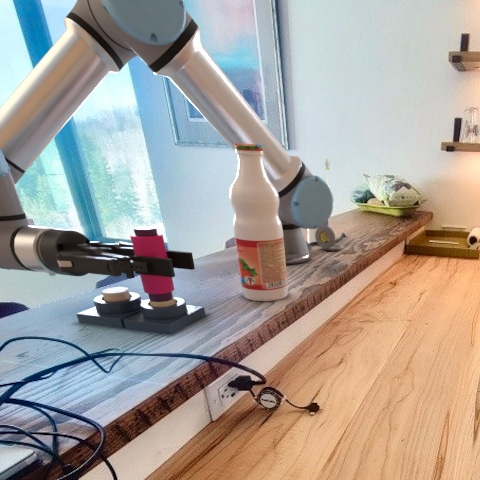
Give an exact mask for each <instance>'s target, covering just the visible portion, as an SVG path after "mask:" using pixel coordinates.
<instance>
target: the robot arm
mask: <svg viewBox="0 0 480 480" xmlns="http://www.w3.org/2000/svg"><path fill="white" fill-rule="evenodd" d="M63 22H64V27H65V30H64V32H63V33H62V34H61V36H60V37H59V38H58V39H57V40H56V41H55V43H53V45H52V46H51V47H50V48H49V50H48V51H46V53H45V54H44V55H43V57H41V59H40V60H39V62H38V63H36V65H35V66H34V67H33V68H32V70H30V72H29V73H28V74H27V76H25V78H23V80H22V81H21V83H20V84H19V85H18V86H17V88H15V90H14V91H13V92H12V94H10V96H9V97H8V98H7V99H6V100H5V102H4V103H2V105H1V106H0V269H2V270H8V271H9V270H10V271H11V270H14V271H25V272H35V273H47V274H48V275H49V276H50V277H55V276H56V275H61V276H69V277H70V276H71V277H84V276H86V275H89V274H91V275H101V276H110V277H111V276H112V277H120V276H122V275H123V274H125V277H126V279H131V280H132V279H134V278H136V277H135V274H137V275H140V274H145V275H155V276H164V277H172V278H174V277H176V274H175V269H180V270H181V269H182V270H191V271H193V270H196V267H195V262H194V257H193V252H191V251H190V252H189V251H181V250H171V249H170V250H169V249H166V253H167V257H168V259H167V258H157V257H147V256H137V255H135V253H134V249H133V245H132V242H126V241H121V240H117V241H114V243H109V242H108V243H107V242H103V241H98V240H90V239H89V238H88V237H87V236H86V235H85V234H83V233H82V232H80V231H77V230H74V229H65V228H64V229H63V228H54V227H47V226H35V225H30V224H29V221H28V218H27V214H26V213H25V210H24V208H23V207H24V206H23V204H22V201H21V199H20V196H19V193H18V189H17V187H16V184H18V183H19V181H20V180H21V179H22V177H23V176H24V175H25V174H26V172H27V170H29V168H30V167H31V166H32V164H33V163H34V162H35V161H36V160H37V159H38V157H40V155H41V154H42V153H43V152H44V150H45V149H46V148H47V147H48V146H49V145H50V143H51V142H52V141H53V140H54V139H55V138H56V136H57V135H58V134H59V133H60V132H61V130H62V129H63V128H64V127H65V126H66V124H67V123H68V122H69V121H70V119H71V118H72V117H73V116H74V115H75V113H77V111H78V110H79V109H80V108H81V106H82V105H83V104H84V103H85V102H86V100H87V99H88V98H89V97H90V96H91V95H92V94H93V92H94V91H95V90H96V89H97V87H98V86H99V85H100V84H101V83H102V81H104V79H105V78H106V77H107V76H108V74H109V73H112V74H119V73H120V71H121V70H122V69H123V68H124V67H125V66H126V65H127V64H128V63H129V62H130V61H132V60H133V59H134V58H136V57H138V58H139V59H140V60H141V61H142V62H143V63H144V64H145V65H146V67H148V69H149V70H150V71H151V72H152V73H153V74H154V75H155V76H160V77H165V78H167V79H170V81H171V82H172V83H173V84H174V85H175V87H177V89H178V90H179V91H180V92H181V93H182V94H183V95H184V96H185V98H186V99H187V100H188V101H189V102H190V104H192V105H193V106H194V108H195V109H196V110H197V111H198V112H199V113H200V114H201V115H202V117H203V118H204V119H205V120H206V122H207V123H209V124H210V126H211V127H212V128H213V129H214V130H215V132H217V133H218V135H219V136H220V137H221V138H222V139H223V140H224V141H225V142H226V144H227V145H228V146H229V147H230V148H231V149H232V150H233V151H234V153H236V150H235V143H242V144H259V145H262V146H263V155H262V160H263V165H264V168H265V171H266V174H267V176H268V178H269V180H270V181H271V183H272V184H273V185H274V186H275V188H276V189H277V191H278V194H279V209H278V216H279V218H280V220H281V223H282V228H283V238H284V250H285V261H286V265H297V264H302V263H306V262H308V261H309V260H310V258H311V256H310V254H311V253H310V250H309V249H310V247H311V246H320V245H319V244H318V243H317V242H311V243H308V242H306V238H305V236H304V234H303V231H302V229H304V230H305V229H306V230H307V229H316V228H319V227H321V226H322V225H324V224H325V223H326V222H327V221H328V219H329V220H330V218H331V215H332V214H333V209H334V194H333V191H332V188H331V186H330V184H329V182H328V183H327V182H326V181H325V180H326V179H323V178H322V177H320V176H319V175H314V174H313V173H312V172H311V171H310V169H309V168H308V167H307V165H306V164H305V163H304V161H303V160H302V158H300V156H297V155H289V153H288V152H287V151H286V149H285V147H283V146H282V144H281V143H280V142H279V141H278V139H277V138H276V136H275V135H274V134H273V133H272V132H271V130H270V129H269V127H268V126H267V125H266V124H265V123H264V122H263V120H262V119H261V118H260V116H259V115H258V114H257V112H255V110H254V108H252V106H251V105H250V104H249V102H248V101H247V100H246V99H245V98H244V96H243V95H242V93H241V92H240V91H239V89H238V88H236V85H234V84H233V82H232V81H231V80H230V78H229V77H228V76H227V74H226V73H225V72H224V71H223V69H222V68H221V67H220V65H218V63H217V62H216V60H215V59H214V58H213V57H212V55H211V54H210V53H209V51H208V50H207V49H206V48H205V46H204V45H203V43H202V42H201V31H200V30H201V29H200V26H199V25H198V24H197V22H195V20H194V19H193V17H192V16H191V15H190V13H189V12H188V11H187V9H186V5H185V1H184V0H76V2H75V4H74V6H73V7H72V9H71V10H70V11H69V13H68V14H67V15H66V16H65V17H64V18H63ZM343 238H347V236H346V233H345V232H342V233H341V235H340V237H338V238H336V239H335V243H338V242H341V241H342V240H343ZM328 242H329V241H325V242H324V243H328ZM335 243H334V244H335Z"/></svg>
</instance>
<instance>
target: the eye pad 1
mask: <svg viewBox="0 0 480 480" xmlns="http://www.w3.org/2000/svg"><path fill="white" fill-rule="evenodd" d="M129 292H130V291H129V288H128V287H125V286H112V287H107V288H104V289H102V290H101V295H103V298H104V301H108V302H114V301H123V300H127V299H130V294H129Z"/></svg>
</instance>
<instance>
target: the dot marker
mask: <svg viewBox="0 0 480 480" xmlns="http://www.w3.org/2000/svg"><path fill="white" fill-rule="evenodd" d="M157 229H158V228H157V227H156V226H136V227H133V232H134V233H131V234H130V235H129V237H130V241H131V243H132V245H133V249H134V253H135V255H137V256H147V257H157V258H167V259H168V257H167V253H166V250H167V249H166V245H165V244H166V243H165V239H164V235H163V233H161V232H158V230H157ZM139 276H140V279H141V284H142V288H143V292H144V293H145V294H147V295H148V298H149V299H150V301H153V302H165V301H169V300H172V299H173V297H174V295H173V291H175V285H174V281H173V277H164V276H155V275H145V274H139ZM149 299H148V300H149Z"/></svg>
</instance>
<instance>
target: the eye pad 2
mask: <svg viewBox="0 0 480 480" xmlns="http://www.w3.org/2000/svg"><path fill="white" fill-rule="evenodd" d="M175 297H176V296H173V299H172V300H169V301H165V302H153V301H150V300H149V299H148V300H149V302H150V306H151V307H167V306H171V305H174V304H176V300H175Z"/></svg>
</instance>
